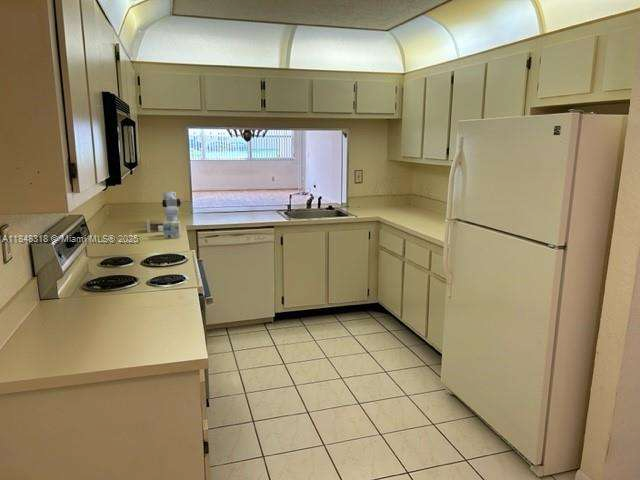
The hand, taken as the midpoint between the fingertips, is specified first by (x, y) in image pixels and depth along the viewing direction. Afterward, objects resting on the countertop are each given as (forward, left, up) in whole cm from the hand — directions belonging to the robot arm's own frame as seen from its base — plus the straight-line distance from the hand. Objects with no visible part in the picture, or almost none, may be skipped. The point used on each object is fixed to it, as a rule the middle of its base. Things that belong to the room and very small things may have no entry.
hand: (171, 205), depth 336 cm
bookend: (-3, -17, -18) cm, 25 cm away
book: (-3, -8, -18) cm, 20 cm away
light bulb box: (+15, -1, -20) cm, 25 cm away
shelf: (-4, -9, -19) cm, 22 cm away
